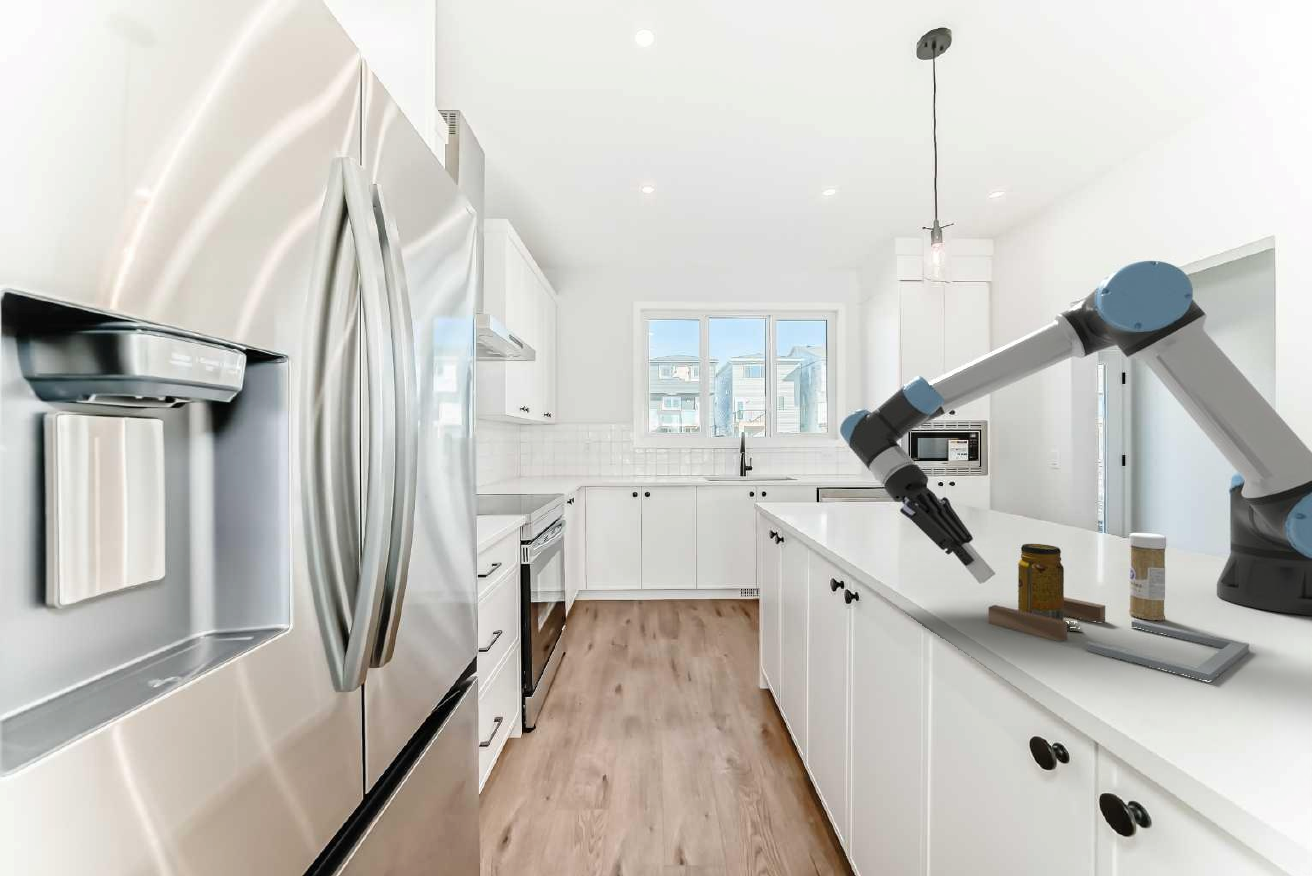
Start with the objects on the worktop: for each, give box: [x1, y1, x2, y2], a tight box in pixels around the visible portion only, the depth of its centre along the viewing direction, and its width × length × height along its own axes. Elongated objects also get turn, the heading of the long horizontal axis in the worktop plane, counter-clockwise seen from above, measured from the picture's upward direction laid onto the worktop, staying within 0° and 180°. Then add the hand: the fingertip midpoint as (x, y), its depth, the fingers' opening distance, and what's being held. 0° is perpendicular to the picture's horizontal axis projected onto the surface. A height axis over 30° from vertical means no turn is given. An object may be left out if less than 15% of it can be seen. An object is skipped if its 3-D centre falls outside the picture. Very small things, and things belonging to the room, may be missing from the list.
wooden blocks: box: [988, 596, 1106, 643], centre depth 92 cm, size 16×10×2 cm, turn 124°
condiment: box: [1017, 543, 1084, 633], centre depth 92 cm, size 7×8×12 cm
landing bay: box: [1086, 619, 1250, 681], centre depth 80 cm, size 18×12×1 cm
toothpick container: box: [1128, 532, 1167, 622], centre depth 94 cm, size 5×5×14 cm
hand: (987, 578), depth 99 cm, fingers closed
